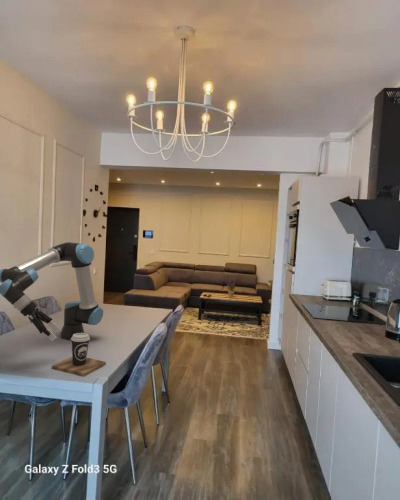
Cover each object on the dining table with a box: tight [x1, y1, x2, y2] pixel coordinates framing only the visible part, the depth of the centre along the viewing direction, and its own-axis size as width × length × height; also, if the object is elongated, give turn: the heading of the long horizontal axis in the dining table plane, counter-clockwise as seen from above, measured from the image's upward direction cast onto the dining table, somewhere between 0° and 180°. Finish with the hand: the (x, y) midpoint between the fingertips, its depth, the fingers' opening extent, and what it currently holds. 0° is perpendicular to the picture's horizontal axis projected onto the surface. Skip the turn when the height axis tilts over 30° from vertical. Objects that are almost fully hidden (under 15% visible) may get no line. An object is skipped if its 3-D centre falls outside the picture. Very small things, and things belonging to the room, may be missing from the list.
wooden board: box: [51, 356, 107, 377], centre depth 183 cm, size 20×18×2 cm
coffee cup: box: [70, 332, 91, 366], centre depth 183 cm, size 10×10×15 cm
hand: (56, 335), depth 179 cm, fingers open, 13 cm apart
